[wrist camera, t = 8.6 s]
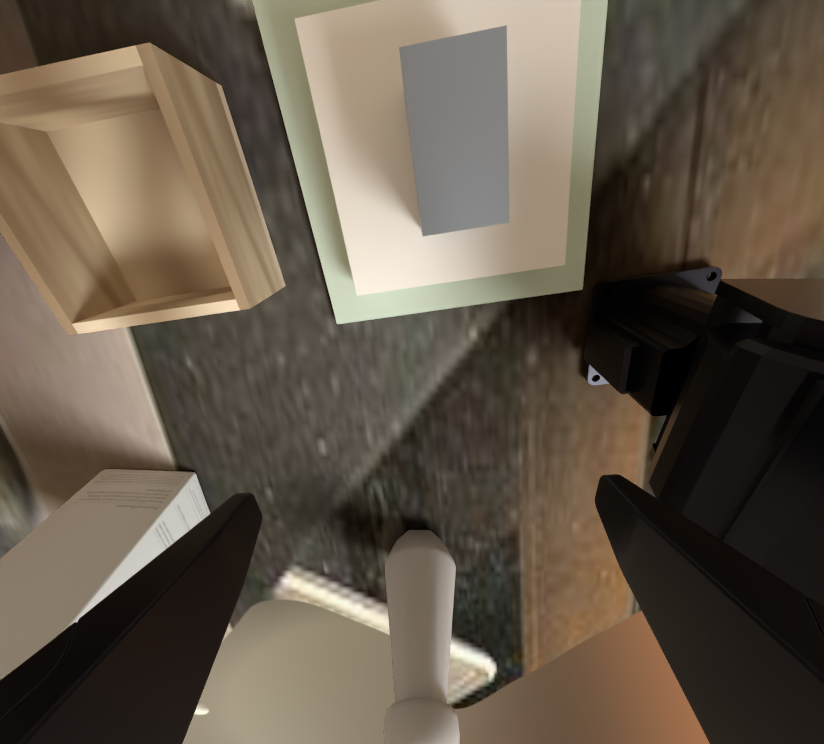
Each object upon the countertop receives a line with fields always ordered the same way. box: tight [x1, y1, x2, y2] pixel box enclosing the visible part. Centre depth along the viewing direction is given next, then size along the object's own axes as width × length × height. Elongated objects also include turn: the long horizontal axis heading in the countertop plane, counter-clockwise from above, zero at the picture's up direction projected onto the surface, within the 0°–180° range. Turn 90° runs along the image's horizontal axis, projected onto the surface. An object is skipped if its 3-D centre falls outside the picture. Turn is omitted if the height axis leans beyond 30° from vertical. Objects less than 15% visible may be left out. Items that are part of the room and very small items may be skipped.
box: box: [0, 42, 285, 335], centre depth 15 cm, size 9×9×4 cm
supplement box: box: [0, 469, 210, 680], centre depth 21 cm, size 7×7×13 cm
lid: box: [294, 0, 581, 296], centre depth 13 cm, size 10×10×6 cm
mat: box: [252, 0, 608, 324], centre depth 16 cm, size 14×14×1 cm
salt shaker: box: [383, 530, 460, 744], centre depth 23 cm, size 6×6×13 cm
